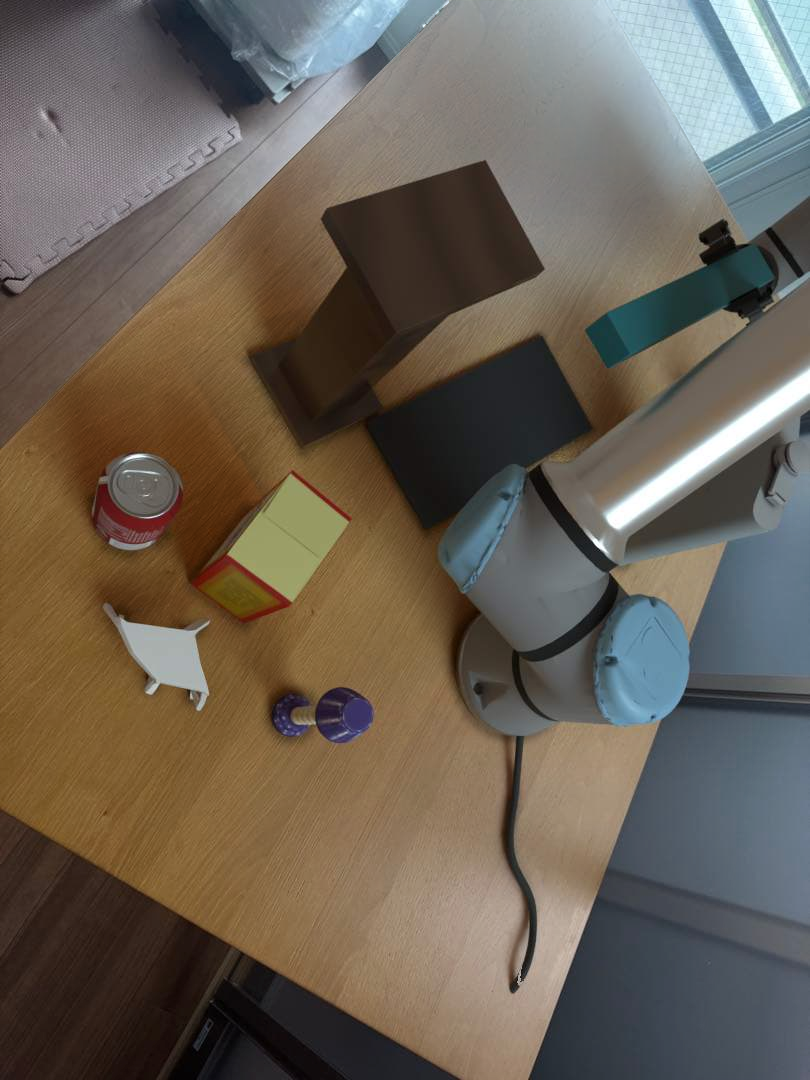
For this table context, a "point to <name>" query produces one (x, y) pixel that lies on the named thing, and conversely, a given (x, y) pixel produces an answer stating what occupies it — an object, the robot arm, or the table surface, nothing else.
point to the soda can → (136, 500)
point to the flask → (728, 501)
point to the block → (677, 305)
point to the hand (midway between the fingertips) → (732, 277)
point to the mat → (478, 429)
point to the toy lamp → (324, 715)
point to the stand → (394, 291)
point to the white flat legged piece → (165, 654)
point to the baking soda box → (272, 550)
